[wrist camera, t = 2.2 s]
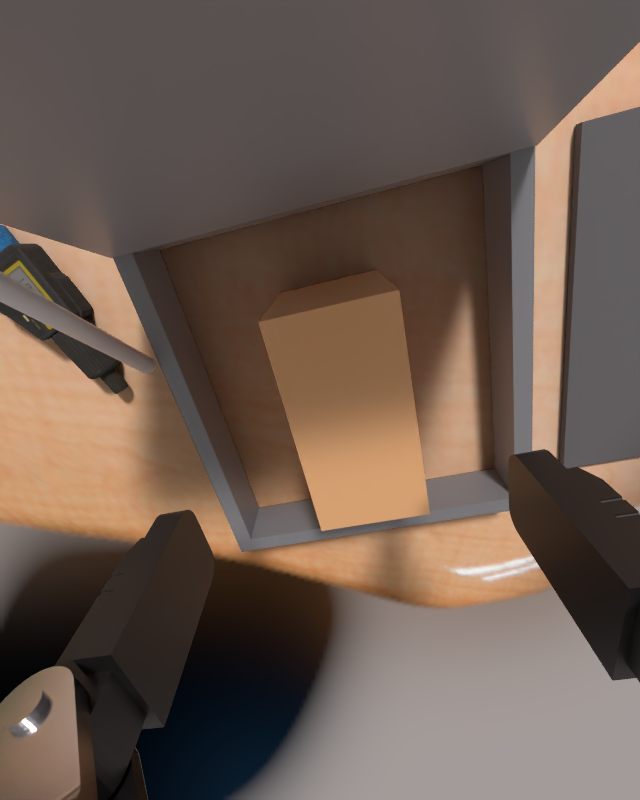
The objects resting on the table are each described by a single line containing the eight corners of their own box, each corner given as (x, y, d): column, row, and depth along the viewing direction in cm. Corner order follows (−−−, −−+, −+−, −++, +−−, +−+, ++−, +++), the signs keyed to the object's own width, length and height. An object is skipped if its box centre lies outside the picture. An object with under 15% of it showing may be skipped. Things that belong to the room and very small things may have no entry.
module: (376, 269, 17) (399, 289, 11) (403, 437, 20) (430, 514, 15) (280, 292, 17) (258, 322, 12) (323, 451, 21) (321, 531, 15)
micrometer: (-160, 197, 15) (-82, 121, 13) (-108, 202, 16) (-35, 134, 15) (58, 429, 19) (132, 385, 18) (81, 412, 20) (151, 371, 19)
